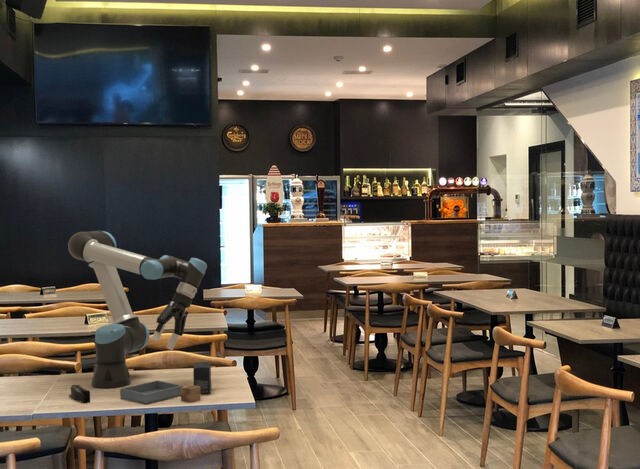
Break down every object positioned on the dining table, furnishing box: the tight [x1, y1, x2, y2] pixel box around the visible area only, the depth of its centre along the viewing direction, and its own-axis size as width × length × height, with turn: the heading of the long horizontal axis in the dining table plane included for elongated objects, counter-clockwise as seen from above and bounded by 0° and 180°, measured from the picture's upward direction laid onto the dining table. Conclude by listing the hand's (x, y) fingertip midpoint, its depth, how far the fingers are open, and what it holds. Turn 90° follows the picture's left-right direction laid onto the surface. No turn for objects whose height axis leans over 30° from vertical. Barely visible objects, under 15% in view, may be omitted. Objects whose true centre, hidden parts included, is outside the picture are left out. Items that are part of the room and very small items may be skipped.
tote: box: [119, 380, 184, 405], centre depth 285 cm, size 15×17×4 cm
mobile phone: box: [68, 384, 91, 404], centre depth 284 cm, size 5×3×15 cm
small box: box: [192, 361, 213, 395], centre depth 293 cm, size 11×6×10 cm, turn 6°
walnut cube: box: [180, 384, 202, 403], centre depth 279 cm, size 5×5×5 cm
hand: (162, 345), depth 299 cm, fingers open, 13 cm apart
